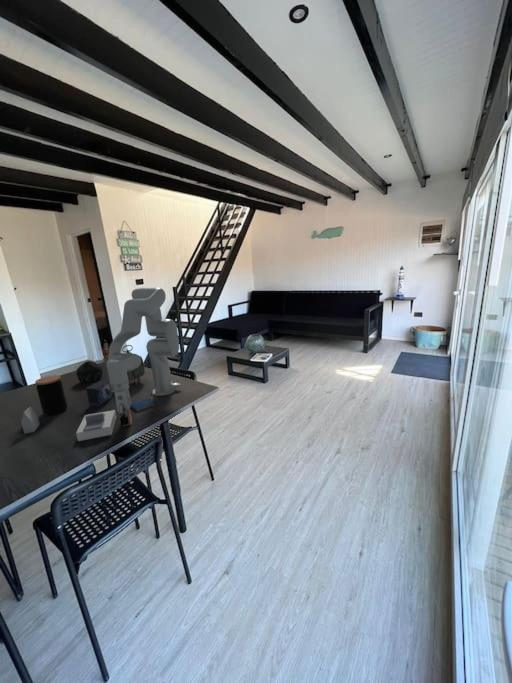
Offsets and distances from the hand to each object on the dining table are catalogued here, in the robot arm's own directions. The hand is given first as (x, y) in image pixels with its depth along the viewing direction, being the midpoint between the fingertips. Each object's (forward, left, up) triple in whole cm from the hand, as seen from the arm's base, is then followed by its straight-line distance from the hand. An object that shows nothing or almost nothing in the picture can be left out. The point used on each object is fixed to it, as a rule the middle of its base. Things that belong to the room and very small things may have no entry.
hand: (126, 419), depth 136 cm
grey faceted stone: (+42, -12, -2) cm, 44 cm away
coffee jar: (+37, -28, -2) cm, 46 cm away
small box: (+16, -30, -2) cm, 34 cm away
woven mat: (-6, -16, -3) cm, 17 cm away
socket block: (+12, 0, -2) cm, 12 cm away
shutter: (+12, +5, +2) cm, 13 cm away
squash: (+28, -68, -2) cm, 74 cm away
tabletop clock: (+1, -51, -2) cm, 51 cm away
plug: (0, 0, -2) cm, 2 cm away
